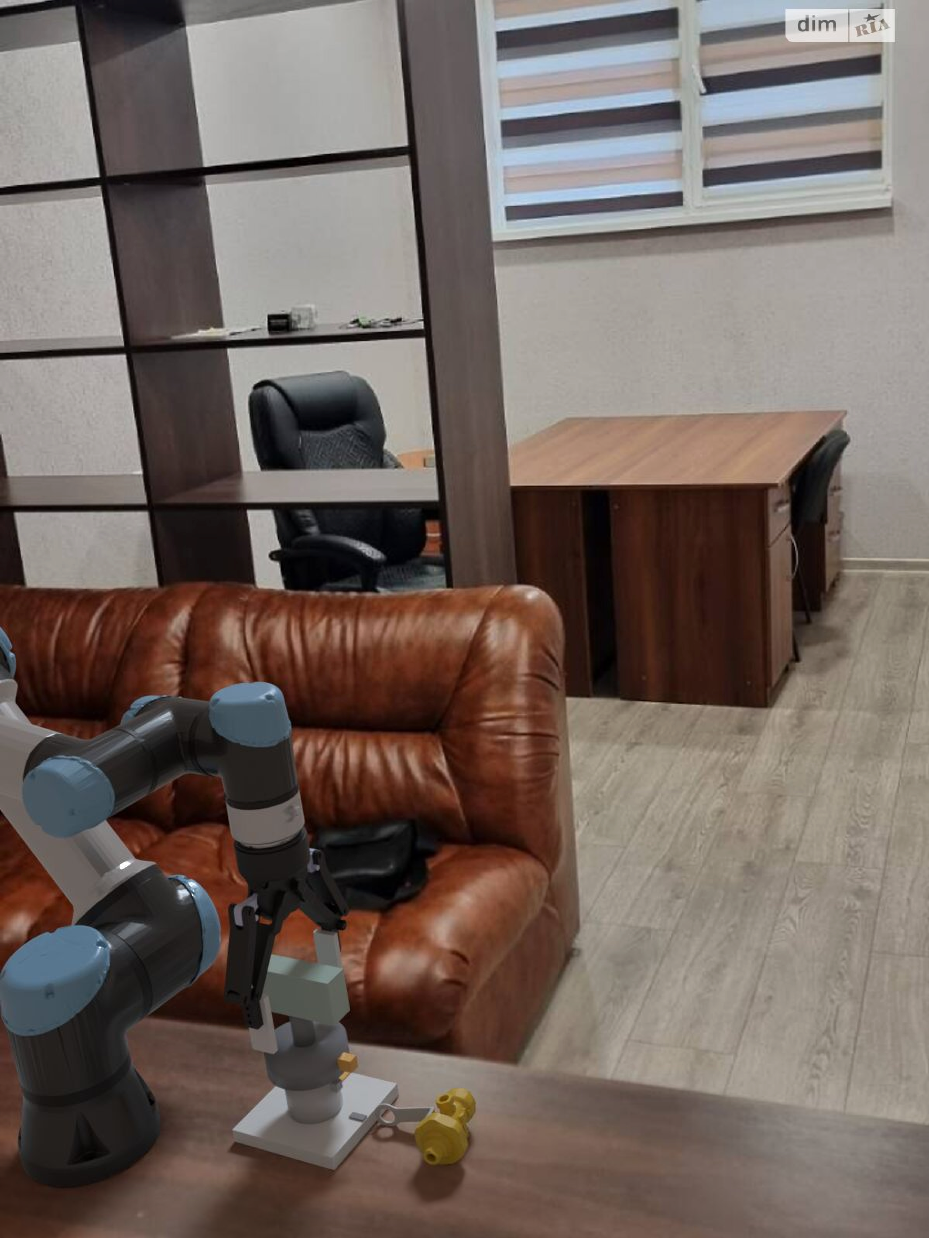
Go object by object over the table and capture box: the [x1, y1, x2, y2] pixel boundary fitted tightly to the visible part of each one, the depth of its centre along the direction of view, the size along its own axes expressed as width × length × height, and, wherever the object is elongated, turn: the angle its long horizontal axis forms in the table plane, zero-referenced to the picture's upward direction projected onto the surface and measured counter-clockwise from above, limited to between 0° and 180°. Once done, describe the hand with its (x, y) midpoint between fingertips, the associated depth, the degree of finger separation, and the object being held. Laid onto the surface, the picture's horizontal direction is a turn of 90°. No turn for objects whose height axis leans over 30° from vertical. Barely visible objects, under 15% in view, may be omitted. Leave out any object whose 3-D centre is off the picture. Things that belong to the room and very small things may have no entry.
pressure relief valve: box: [375, 1087, 477, 1166], centre depth 142 cm, size 6×12×10 cm
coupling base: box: [232, 1072, 400, 1171], centre depth 148 cm, size 13×13×6 cm
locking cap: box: [251, 954, 359, 1091], centre depth 145 cm, size 12×9×12 cm
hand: (300, 1015), depth 145 cm, fingers open, 12 cm apart
